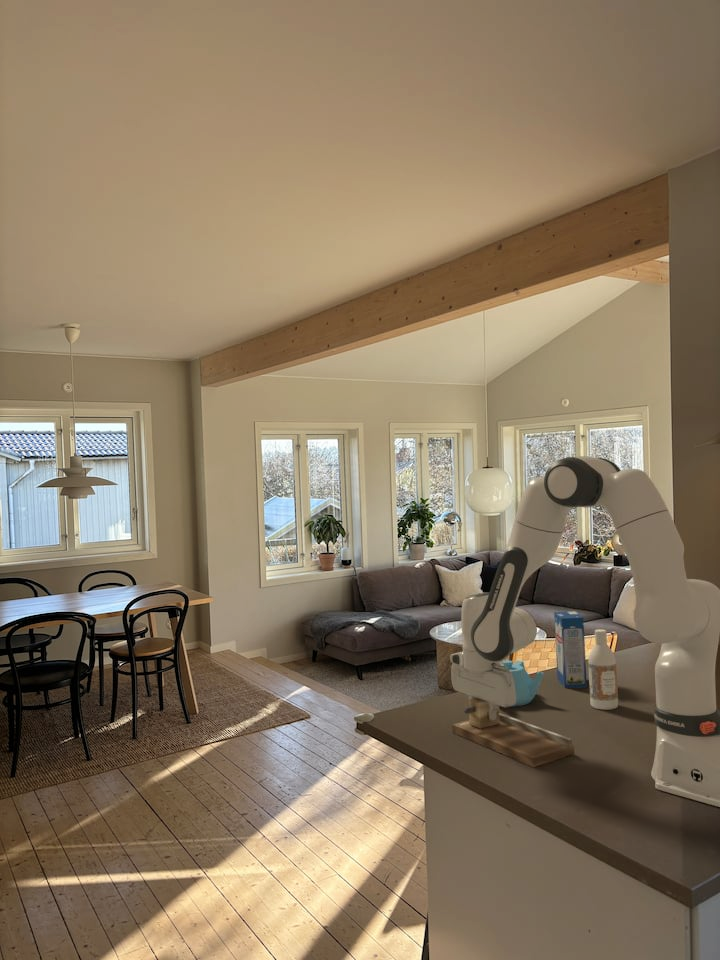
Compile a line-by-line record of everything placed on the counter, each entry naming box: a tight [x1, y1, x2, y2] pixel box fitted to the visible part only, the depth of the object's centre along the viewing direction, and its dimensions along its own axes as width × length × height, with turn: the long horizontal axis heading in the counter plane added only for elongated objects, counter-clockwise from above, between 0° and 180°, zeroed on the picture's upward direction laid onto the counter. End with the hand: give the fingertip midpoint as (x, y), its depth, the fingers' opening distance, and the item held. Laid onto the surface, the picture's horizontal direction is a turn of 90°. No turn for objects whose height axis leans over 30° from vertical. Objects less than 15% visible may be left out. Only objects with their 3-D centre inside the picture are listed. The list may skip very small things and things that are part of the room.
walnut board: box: [451, 712, 575, 768], centre depth 176 cm, size 28×12×4 cm, turn 31°
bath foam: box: [587, 628, 619, 711], centre depth 200 cm, size 7×7×20 cm
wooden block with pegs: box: [463, 698, 500, 728], centre depth 184 cm, size 4×11×6 cm, turn 121°
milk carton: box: [553, 610, 588, 689], centre depth 223 cm, size 10×6×20 cm, turn 178°
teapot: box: [500, 660, 545, 707], centre depth 209 cm, size 15×15×11 cm
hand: (484, 716), depth 184 cm, fingers closed on wooden block with pegs, 4 cm apart
